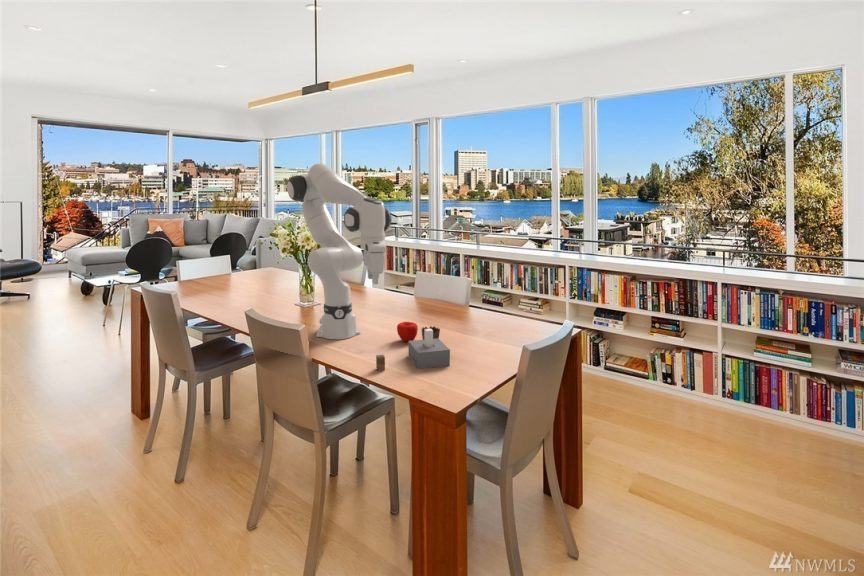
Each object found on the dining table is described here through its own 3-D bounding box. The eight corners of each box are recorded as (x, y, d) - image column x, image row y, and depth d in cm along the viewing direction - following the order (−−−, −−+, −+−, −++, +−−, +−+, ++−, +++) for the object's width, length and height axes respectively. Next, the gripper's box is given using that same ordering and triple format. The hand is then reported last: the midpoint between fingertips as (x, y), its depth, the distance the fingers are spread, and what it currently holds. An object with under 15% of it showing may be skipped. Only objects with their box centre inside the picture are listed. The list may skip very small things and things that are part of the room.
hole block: (408, 355, 183) (408, 340, 181) (438, 352, 186) (438, 338, 185) (418, 368, 169) (418, 352, 168) (449, 365, 173) (450, 349, 172)
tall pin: (424, 359, 179) (424, 329, 176) (430, 358, 179) (431, 328, 177) (426, 361, 176) (426, 331, 174) (432, 361, 177) (433, 330, 174)
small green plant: (423, 351, 188) (424, 331, 186) (419, 345, 195) (419, 326, 193) (441, 349, 190) (442, 330, 188) (436, 344, 197) (437, 325, 195)
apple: (394, 338, 203) (394, 321, 202) (414, 336, 206) (414, 319, 204) (399, 345, 195) (399, 326, 193) (420, 343, 198) (420, 325, 196)
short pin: (376, 368, 169) (376, 355, 168) (383, 367, 170) (383, 354, 169) (377, 371, 167) (377, 357, 166) (384, 370, 168) (384, 357, 167)
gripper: (359, 240, 180) (359, 275, 183) (369, 248, 161) (369, 287, 164) (375, 240, 182) (375, 275, 185) (387, 247, 163) (387, 286, 166)
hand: (372, 281), depth 174 cm, fingers open, 8 cm apart
